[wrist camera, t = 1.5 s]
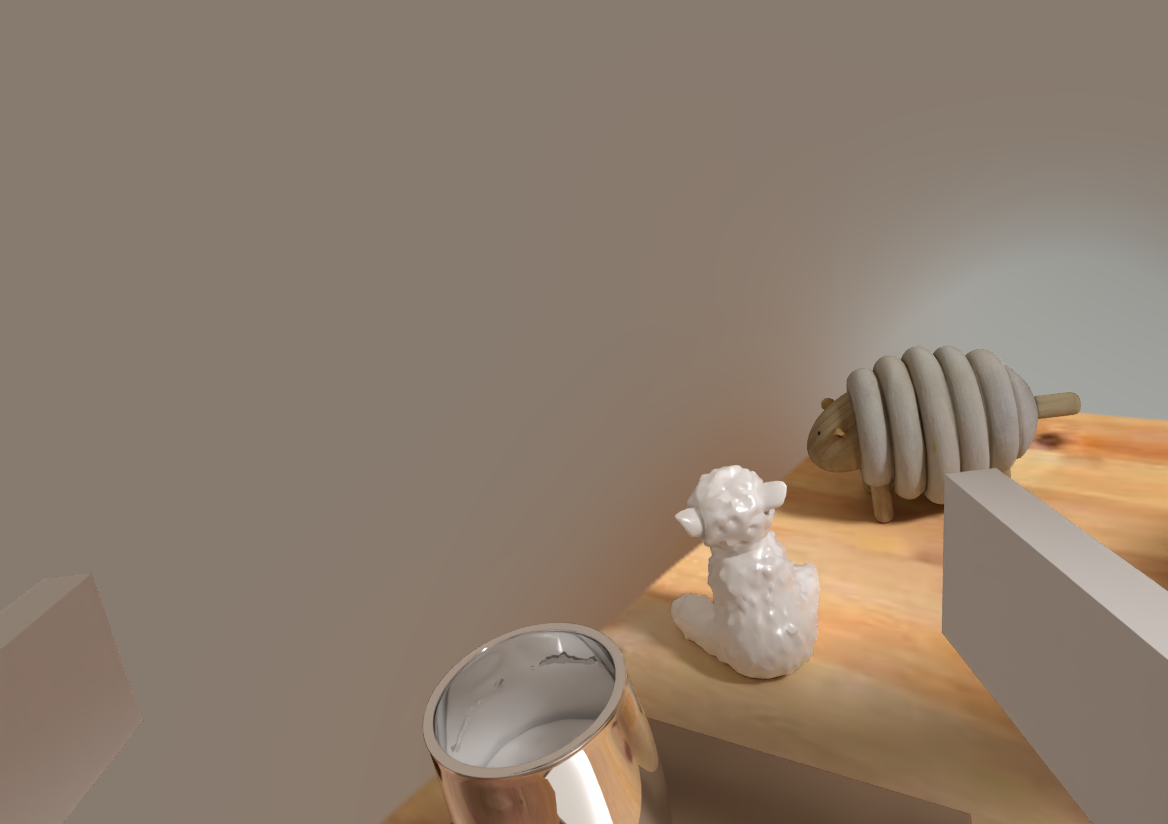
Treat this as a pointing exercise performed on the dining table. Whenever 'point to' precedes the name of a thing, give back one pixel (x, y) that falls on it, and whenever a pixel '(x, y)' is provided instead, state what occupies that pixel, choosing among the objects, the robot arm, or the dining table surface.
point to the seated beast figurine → (747, 579)
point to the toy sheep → (929, 422)
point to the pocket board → (774, 788)
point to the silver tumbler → (545, 733)
